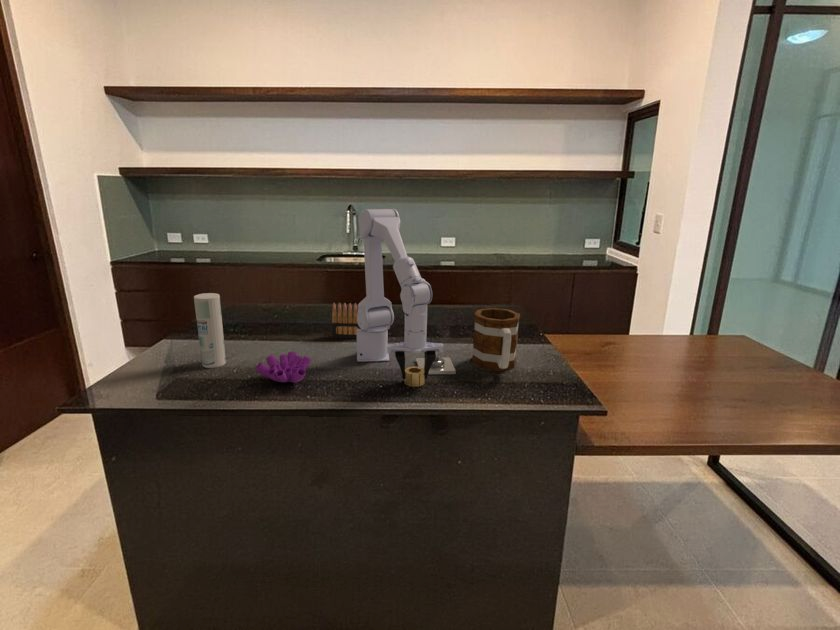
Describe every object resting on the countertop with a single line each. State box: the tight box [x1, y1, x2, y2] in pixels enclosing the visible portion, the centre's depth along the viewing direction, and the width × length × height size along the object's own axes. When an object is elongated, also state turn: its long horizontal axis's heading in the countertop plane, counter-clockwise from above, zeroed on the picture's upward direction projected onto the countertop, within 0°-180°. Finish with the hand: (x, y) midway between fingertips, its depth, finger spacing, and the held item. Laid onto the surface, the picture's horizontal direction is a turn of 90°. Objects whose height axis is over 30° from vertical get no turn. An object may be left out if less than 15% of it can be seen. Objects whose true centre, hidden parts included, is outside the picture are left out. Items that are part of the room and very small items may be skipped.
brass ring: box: [403, 365, 426, 388], centre depth 124 cm, size 5×5×4 cm
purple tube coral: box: [254, 351, 312, 383], centre depth 124 cm, size 11×15×10 cm
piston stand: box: [415, 352, 457, 375], centre depth 134 cm, size 10×10×6 cm
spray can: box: [193, 292, 227, 369], centre depth 131 cm, size 6×6×20 cm
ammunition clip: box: [331, 302, 361, 339], centre depth 157 cm, size 11×2×12 cm, turn 89°
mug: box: [471, 307, 521, 372], centre depth 135 cm, size 20×14×15 cm
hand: (414, 377), depth 125 cm, fingers closed on brass ring, 5 cm apart
